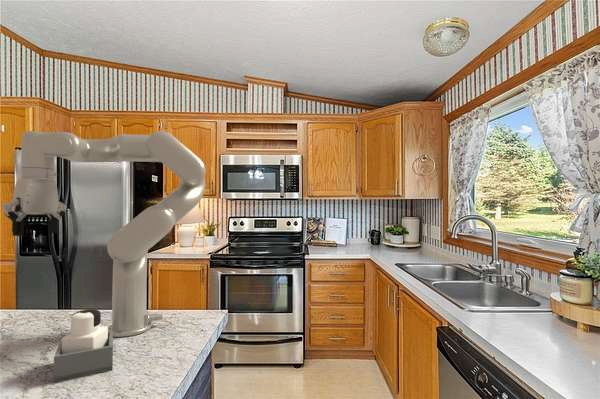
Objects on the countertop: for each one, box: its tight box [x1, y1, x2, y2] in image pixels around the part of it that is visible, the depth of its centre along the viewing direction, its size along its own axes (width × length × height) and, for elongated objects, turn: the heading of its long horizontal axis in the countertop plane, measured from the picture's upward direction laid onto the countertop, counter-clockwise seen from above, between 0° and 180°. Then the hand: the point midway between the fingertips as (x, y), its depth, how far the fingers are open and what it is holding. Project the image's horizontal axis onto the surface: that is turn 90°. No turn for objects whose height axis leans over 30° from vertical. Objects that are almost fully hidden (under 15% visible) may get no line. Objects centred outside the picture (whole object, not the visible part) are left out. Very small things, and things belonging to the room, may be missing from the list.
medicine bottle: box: [61, 308, 109, 354], centre depth 80 cm, size 7×7×12 cm
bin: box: [53, 331, 114, 383], centre depth 80 cm, size 11×11×6 cm
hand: (36, 234), depth 95 cm, fingers open, 9 cm apart
